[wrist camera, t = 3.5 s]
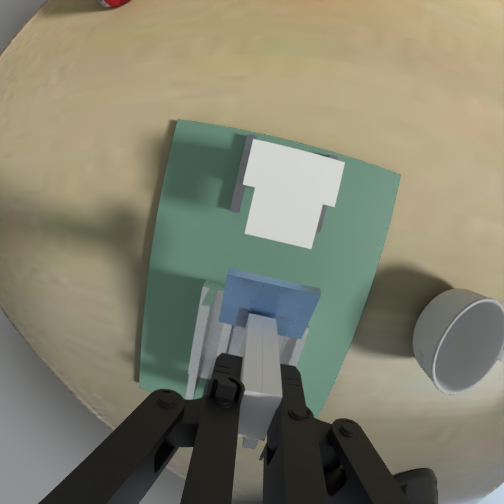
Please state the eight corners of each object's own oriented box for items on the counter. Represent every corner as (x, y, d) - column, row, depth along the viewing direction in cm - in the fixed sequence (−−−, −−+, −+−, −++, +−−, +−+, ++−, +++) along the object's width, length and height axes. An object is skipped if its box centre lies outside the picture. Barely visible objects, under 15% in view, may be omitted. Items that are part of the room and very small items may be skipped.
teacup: (385, 343, 31) (413, 381, 23) (436, 261, 28) (478, 282, 21) (451, 374, 31) (479, 407, 24) (494, 308, 29) (530, 331, 22)
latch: (305, 233, 27) (323, 252, 19) (241, 218, 27) (232, 230, 19) (320, 170, 26) (344, 162, 18) (256, 154, 26) (253, 138, 18)
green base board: (312, 420, 33) (313, 425, 32) (141, 383, 33) (139, 388, 32) (396, 174, 27) (400, 174, 26) (180, 121, 26) (177, 119, 26)
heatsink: (273, 397, 32) (275, 451, 24) (190, 379, 32) (171, 430, 23) (341, 161, 27) (375, 150, 18) (239, 136, 27) (228, 112, 18)
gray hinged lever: (251, 428, 26) (250, 440, 25) (202, 417, 26) (199, 429, 24) (319, 283, 16) (321, 299, 15) (230, 263, 16) (225, 278, 15)
